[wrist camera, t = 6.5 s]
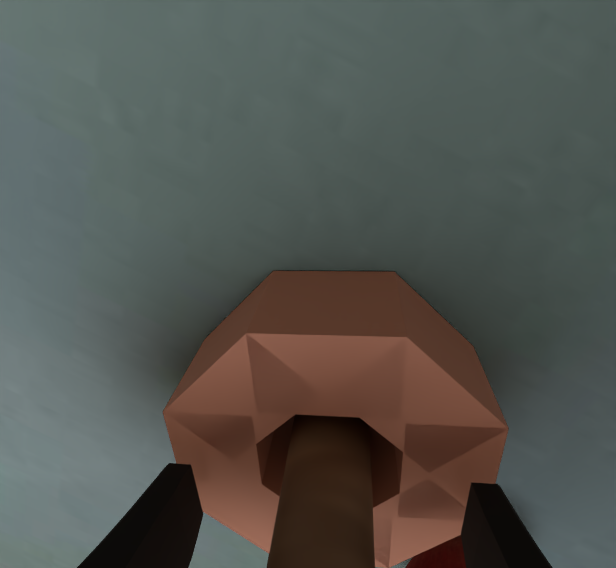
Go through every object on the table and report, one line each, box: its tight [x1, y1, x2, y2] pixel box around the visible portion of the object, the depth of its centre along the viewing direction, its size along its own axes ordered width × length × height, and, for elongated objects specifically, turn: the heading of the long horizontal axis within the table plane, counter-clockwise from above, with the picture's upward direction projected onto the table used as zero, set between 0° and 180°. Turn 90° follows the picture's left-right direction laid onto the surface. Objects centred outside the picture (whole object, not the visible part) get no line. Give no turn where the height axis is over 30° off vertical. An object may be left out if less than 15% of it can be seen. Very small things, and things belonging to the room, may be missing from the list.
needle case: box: [267, 414, 375, 568], centre depth 11 cm, size 2×2×8 cm
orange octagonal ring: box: [163, 271, 509, 568], centre depth 13 cm, size 9×9×4 cm
